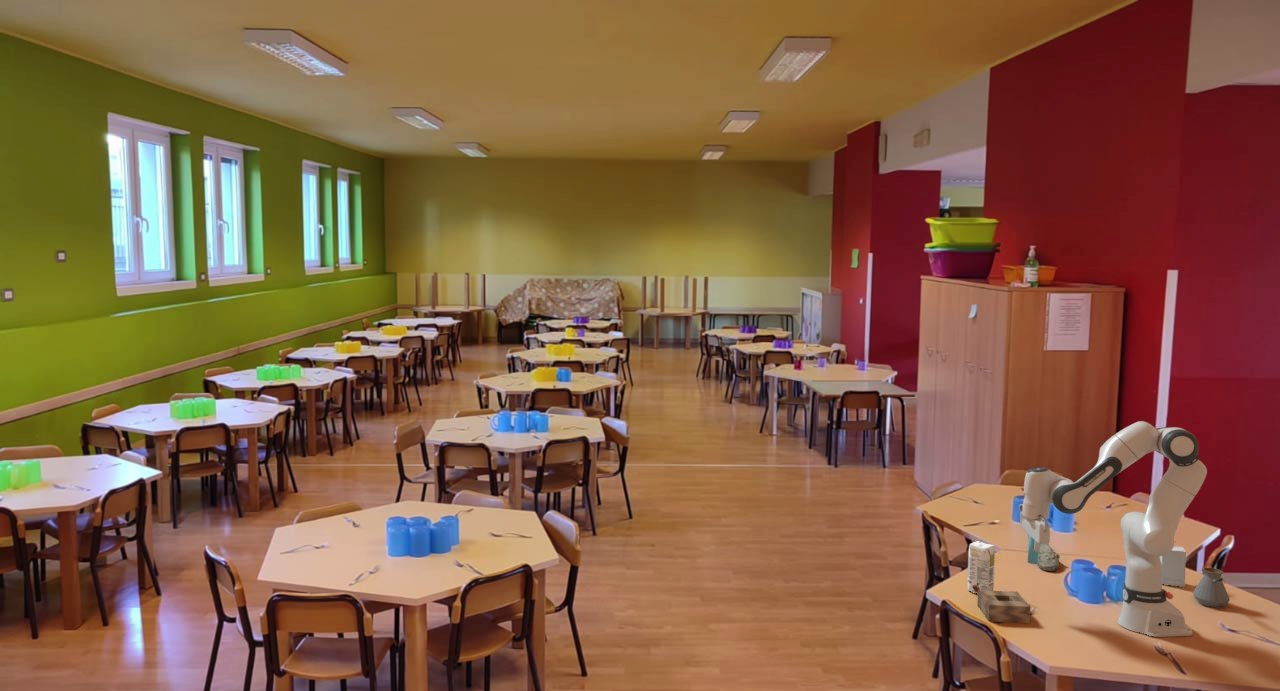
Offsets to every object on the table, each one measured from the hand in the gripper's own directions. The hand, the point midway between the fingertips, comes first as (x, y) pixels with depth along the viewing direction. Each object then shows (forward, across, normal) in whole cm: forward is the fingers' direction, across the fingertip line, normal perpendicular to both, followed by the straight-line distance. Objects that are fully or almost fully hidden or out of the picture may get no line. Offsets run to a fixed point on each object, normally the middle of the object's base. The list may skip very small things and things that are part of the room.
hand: (1033, 548), depth 312 cm
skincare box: (+23, +34, -65) cm, 77 cm away
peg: (+5, 0, 0) cm, 5 cm away
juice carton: (+24, +17, +13) cm, 32 cm away
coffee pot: (+23, +10, -68) cm, 72 cm away
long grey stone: (+24, +59, -25) cm, 69 cm away
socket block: (+24, -4, +11) cm, 26 cm away
